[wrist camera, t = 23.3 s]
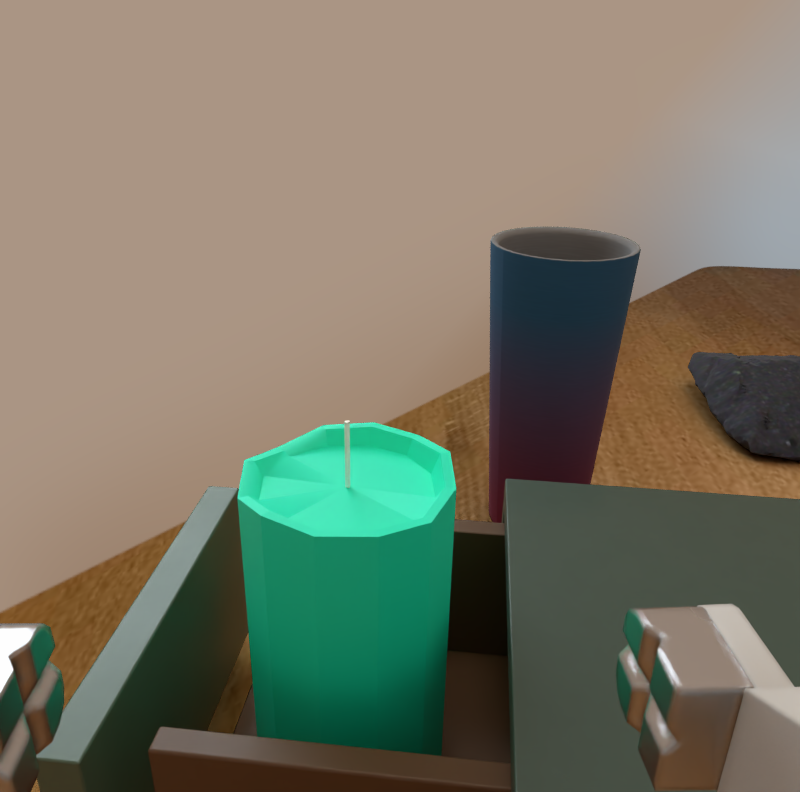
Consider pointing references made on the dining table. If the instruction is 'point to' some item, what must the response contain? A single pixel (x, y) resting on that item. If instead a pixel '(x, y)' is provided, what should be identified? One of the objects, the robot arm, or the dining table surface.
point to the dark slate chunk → (753, 399)
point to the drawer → (212, 665)
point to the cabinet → (624, 609)
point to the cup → (553, 350)
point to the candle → (349, 586)
